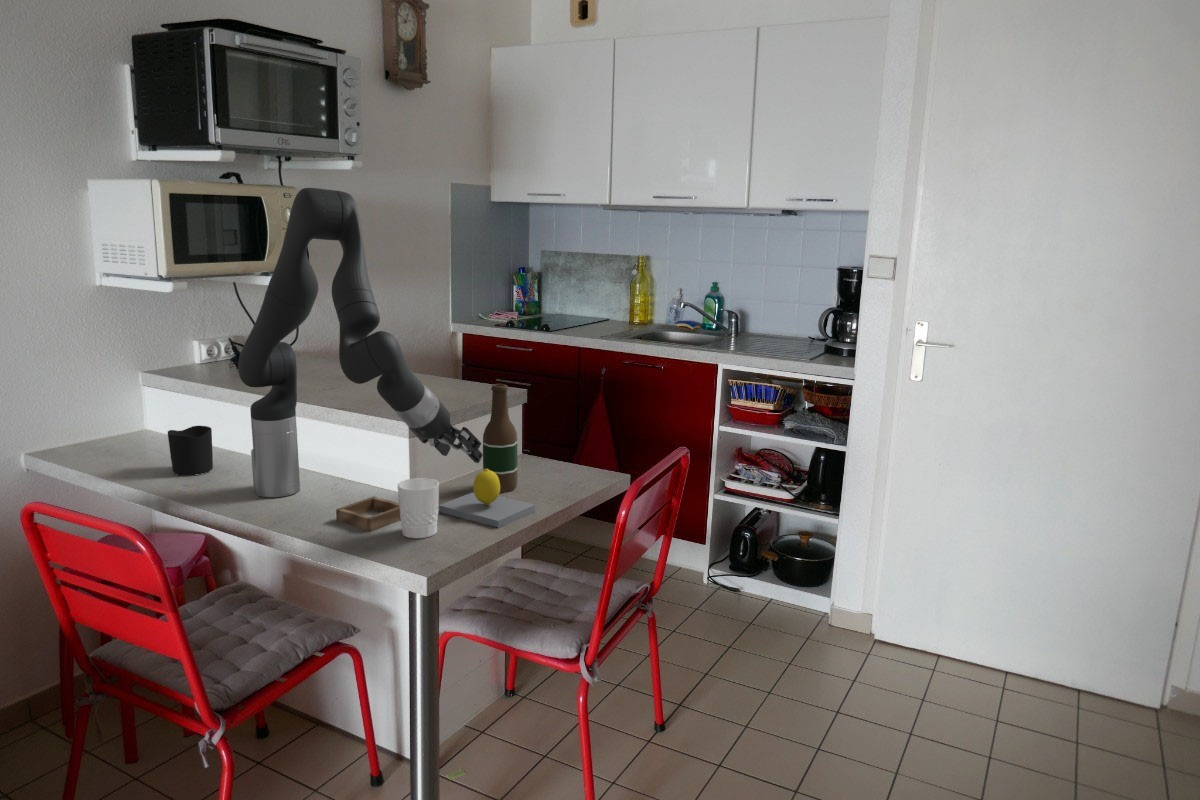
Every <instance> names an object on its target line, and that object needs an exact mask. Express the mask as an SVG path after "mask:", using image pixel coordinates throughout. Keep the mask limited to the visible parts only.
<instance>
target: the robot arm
mask: <svg viewBox="0 0 1200 800" xmlns="http://www.w3.org/2000/svg"><path fill="white" fill-rule="evenodd" d="M289 213H290V214H289V217H288V222H287V226H286V230H285V233H284V238H283V242H282V246H281V249H280V253H279V256H278V258H277V261H276V264H275V267H274V270H273V273H272V274H271V278H270V279H269V282H268V285H267V287H266V291H265V295H264V296H263V300H262V304H261V305H260V306H261V307H260V310H259V312H258V315H257V317H256V320H255V322H254V324H253V326H252V328H251V331H250V333H249V334H248V336H247V338H246V340H245V342H244V344H243V345H242V347H241V348H242V349H241V351H240V353H239V357H238V363H237V364H238V366H237V369H238V376H239V378H240V380H241V382H242V383H243V384H244V385H245V386H247V387H250V388H264V387H271V389H270V391H269V392H268V393H267V394H266V395H264V396H263V397H262V398H259V399H258V400H256V401H254V402H253V403H252V404H251V405H250V422H251V423H250V424H251V425H250V427H251V437H252V439H251V440H252V449H251V450H250V455H251V469H252V484H253V491H255V493H256V495H258V496H259V497H263V498H283V497H287V496H291V495H294V494H296V493H299V492H300V490H301V481H300V463H299V461H300V460H299V446H298V427H297V412H296V407H297V404H298V394H297V393H298V392H297V391H298V388H297V387H298V386H297V385H298V381H297V380H298V379H297V378H298V372H297V371H298V369H297V368H298V367H297V365H298V364H297V359H296V354H295V352H294V349H293V347H292V346H291V344H289V343H288V342H285V341H283V340H284V339H285V338H286V337H288V335H290V334H291V333H292V332H293V331H295V330H296V329H298V328H299V326H301V325H302V324H303V323H304V322H305V321H306V320H307V318H308V317H309V316H310V314H311V312H312V309H313V306H314V304H315V302H316V299H317V296H318V293H319V282H318V278H317V275H316V274H315V270H314V269H313V267H312V265H311V262H310V260H309V257H308V255H307V254H308V253H307V250H308V246H309V243H310V242H311V241H312V240H323V241H324V240H325V241H337V242H339V243H340V245H341V248H342V257H341V261H340V263H339V265H338V268H337V269H336V271H335V274H334V277H333V279H332V283H331V298H332V304H333V305H334V309H335V312H336V316H337V319H338V323H339V342H338V343H339V344H338V359H339V364H340V367H341V370H342V373H343V374H344V376H345V377H346V378H347V379H348V380H350V381H351V382H352V383H354V384H359V385H361V384H365V383H368V382H370V381H373V380H374V379H376V378H378V377H379V378H378V381H377V383H376V390H377V392H378V394H379V396H380V397H381V398H382V399H383V400H384V401H385V403H386V404H388V405H389V406H390V407H391V408H392V409H393V410H394V412H395V414H396V415H397V416H398V417H399V419H400V420H401V421H403V422H404V425H405V424H406V426H407V427H408V428H409V430H410V431H411V432H412V433H413V435H415V437H416V438H418V440H419V441H420V442H421V443H422V444H427V443H428V445H429V446H430V447H434V448H435V449H436V450H437V451H438V452H439V453H440V454H441V455H442V457H443V456H445V457H447V456H448V455H449V452H450V451H451V448H452V449H454V450H455V451H459V450H460V451H462V452H463V453H464V454H466V455H467V456H468V457H469V458H470V459H471V460H472V462H474V463H475V464H479V463H480V461H481V460H482V459H483V452H481V451H480V447H481V445H483V442H481V441H480V440H479V439H478V438H477V437H476V436H475V434H474V433H472V431H470V429H469V428H467V427H466V426H463V427H462V428H461V429H459V428H457V427H456V426H455V425H454V424H453V423H451V413H450V411H449V409H447V408H446V406H445V405H444V404H443V403H442V402H441V401H440V399H438V397H437V396H436V395H435V394H434V393H433V392H432V390H431V389H429V388H428V387H427V386H425V384H423V382H421V380H420V379H419V378H418V377H417V376H416V375H415V374H414V373H413V371H412V370H411V368H410V366H409V364H408V363H407V360H406V359H405V356H404V353H403V351H402V348H401V346H400V343H399V341H398V339H397V338H396V337H395V336H394V335H393V334H391V333H390V332H388V331H385V330H378V331H375V332H374V330H375V329H377V327H378V326H379V324H380V322H381V316H380V312H379V309H378V306H377V302H376V299H375V297H374V293H373V291H372V287H371V283H370V280H369V275H368V269H367V262H366V255H365V254H366V253H365V245H364V238H363V232H362V226H361V218H360V214H359V209H358V206H357V203H356V200H355V199H354V197H353V196H352V194H350V193H348V192H345V191H341V190H333V189H325V188H318V187H317V188H316V187H304V188H301V189H300V190H299V191H298V192H297V194H296V195H295V197H294V200H293V202H292V206H291V208H290V212H289ZM372 332H373V333H372ZM456 440H457V443H455V442H456Z"/></svg>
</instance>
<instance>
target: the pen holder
mask: <svg viewBox="0 0 1200 800" xmlns="http://www.w3.org/2000/svg"><path fill="white" fill-rule="evenodd" d="M212 430H213V429H212V427H210V426H207V425H193V426H190V427H187V428H185V429H182V430H177V429H176V430H175V429H169V430H167V439H168V446H169V453H170V461H171V468H172V469H171V470H172V472H173V473H174V475H176V474H178V475H177V476H180V475H194V476H196V475H195V474H201V473H205V472H208V471H210V470H211V471H212V470H213V468H214V465H213V464H214V462H213V461H214V460H213V459H214V458H213V457H214V456H213V436H212ZM211 471H210V472H211ZM208 473H209V472H208ZM205 474H206V473H205ZM201 475H202V474H201Z"/></svg>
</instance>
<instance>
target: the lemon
mask: <svg viewBox="0 0 1200 800" xmlns="http://www.w3.org/2000/svg"><path fill="white" fill-rule="evenodd" d="M473 492H474V494H475V496H476V498H477V499H478V500H479V501H480V502H482V503H484V504H485V505H486V506H488V505H489V504H490V503H491V502H494V501H495V500H496V499H497V498H498V496H500V494H501V493H500V482H499V478H498V476H497V475H496V474H495V473H494V472H493V471H491V470H489V469H485V470H483V469H482V470H481V471H480V472H478V473H477V474H476V476H475V478H474V481H473Z"/></svg>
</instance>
